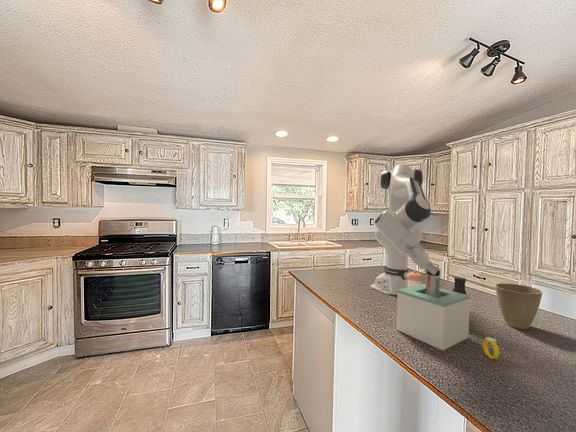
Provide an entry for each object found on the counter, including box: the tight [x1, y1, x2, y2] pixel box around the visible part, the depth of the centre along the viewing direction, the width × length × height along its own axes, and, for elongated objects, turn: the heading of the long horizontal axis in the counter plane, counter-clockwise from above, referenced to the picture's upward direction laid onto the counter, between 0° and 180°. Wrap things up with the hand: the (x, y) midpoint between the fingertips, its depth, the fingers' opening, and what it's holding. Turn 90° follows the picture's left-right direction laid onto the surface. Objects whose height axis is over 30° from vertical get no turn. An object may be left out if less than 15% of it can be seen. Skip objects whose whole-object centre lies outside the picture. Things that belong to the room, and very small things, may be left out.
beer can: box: [425, 265, 441, 298], centre depth 101 cm, size 5×5×12 cm
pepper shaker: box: [407, 270, 424, 287], centre depth 124 cm, size 7×7×19 cm
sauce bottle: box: [451, 276, 468, 295], centre depth 110 cm, size 7×6×20 cm
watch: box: [482, 336, 500, 360], centre depth 86 cm, size 6×3×6 cm, turn 173°
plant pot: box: [494, 282, 543, 330], centre depth 110 cm, size 15×15×16 cm
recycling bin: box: [396, 283, 471, 351], centre depth 101 cm, size 18×18×16 cm
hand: (435, 271), depth 101 cm, fingers closed on beer can, 5 cm apart
